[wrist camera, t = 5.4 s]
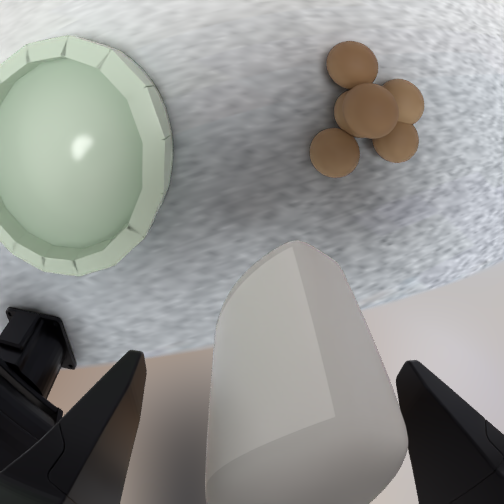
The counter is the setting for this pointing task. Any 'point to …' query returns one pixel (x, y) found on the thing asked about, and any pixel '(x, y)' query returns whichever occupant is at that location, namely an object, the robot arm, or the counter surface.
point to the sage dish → (79, 155)
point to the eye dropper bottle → (299, 390)
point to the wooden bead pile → (366, 113)
